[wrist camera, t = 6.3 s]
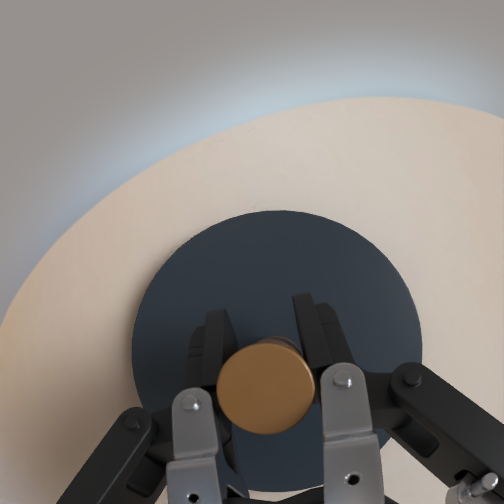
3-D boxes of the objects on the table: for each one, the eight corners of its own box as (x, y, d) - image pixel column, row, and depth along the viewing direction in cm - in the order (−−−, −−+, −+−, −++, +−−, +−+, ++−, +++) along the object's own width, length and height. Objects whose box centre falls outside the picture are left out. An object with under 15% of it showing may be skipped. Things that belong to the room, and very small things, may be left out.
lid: (171, 487, 13) (109, 557, 6) (127, 249, 18) (39, 197, 10) (425, 444, 12) (498, 499, 5) (377, 196, 17) (427, 108, 9)
